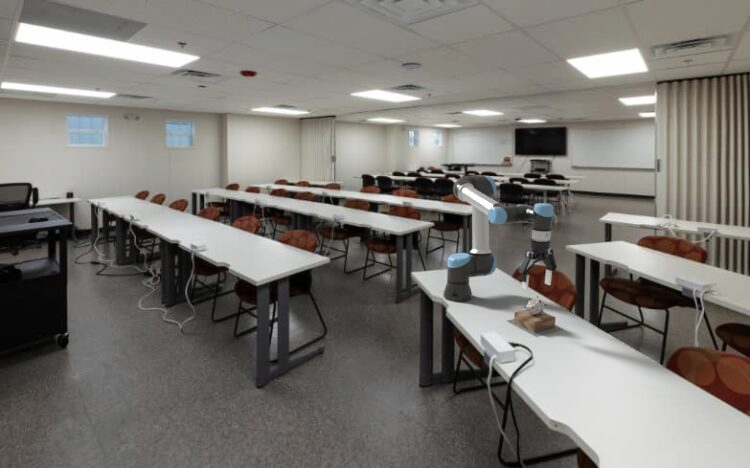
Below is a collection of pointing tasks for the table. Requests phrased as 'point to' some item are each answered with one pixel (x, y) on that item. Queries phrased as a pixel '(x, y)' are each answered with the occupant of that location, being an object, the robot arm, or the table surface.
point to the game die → (535, 306)
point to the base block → (534, 321)
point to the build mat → (537, 332)
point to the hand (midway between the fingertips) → (536, 286)
